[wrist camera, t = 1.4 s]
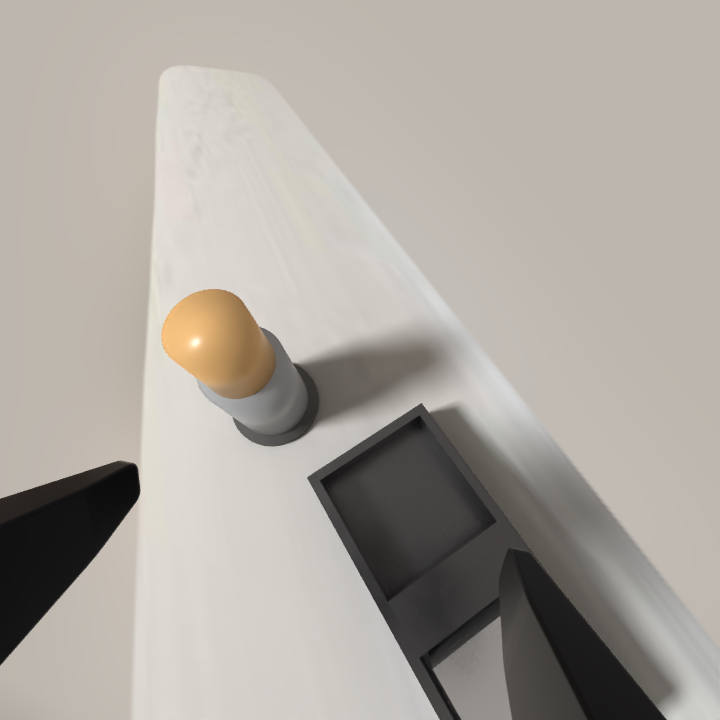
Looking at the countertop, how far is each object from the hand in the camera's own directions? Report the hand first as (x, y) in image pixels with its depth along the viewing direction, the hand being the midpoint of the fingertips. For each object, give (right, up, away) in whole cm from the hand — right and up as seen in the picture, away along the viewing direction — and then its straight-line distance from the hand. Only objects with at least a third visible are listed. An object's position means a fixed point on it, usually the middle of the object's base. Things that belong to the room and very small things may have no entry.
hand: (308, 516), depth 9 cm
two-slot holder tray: (+6, -8, +11) cm, 15 cm away
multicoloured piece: (-4, +1, +16) cm, 16 cm away
